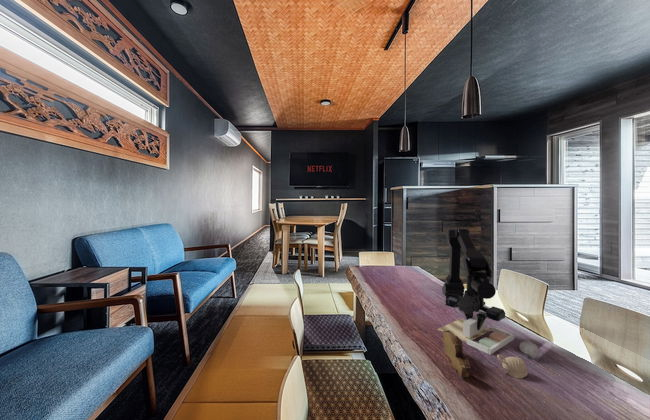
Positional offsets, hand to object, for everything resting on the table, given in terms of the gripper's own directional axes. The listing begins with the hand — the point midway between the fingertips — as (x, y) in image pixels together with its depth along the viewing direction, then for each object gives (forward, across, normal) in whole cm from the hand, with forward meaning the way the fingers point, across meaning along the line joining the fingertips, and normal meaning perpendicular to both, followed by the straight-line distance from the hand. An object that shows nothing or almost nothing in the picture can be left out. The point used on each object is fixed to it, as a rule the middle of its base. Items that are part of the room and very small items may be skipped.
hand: (474, 328), depth 98 cm
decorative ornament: (+4, +17, -11) cm, 21 cm away
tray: (+4, +6, 0) cm, 7 cm away
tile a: (+3, +7, +3) cm, 8 cm away
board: (+4, -4, 0) cm, 5 cm away
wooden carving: (+4, +6, -22) cm, 23 cm away
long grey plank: (+1, 0, 0) cm, 1 cm away
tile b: (+3, +7, -4) cm, 9 cm away
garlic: (+4, +16, +4) cm, 17 cm away
